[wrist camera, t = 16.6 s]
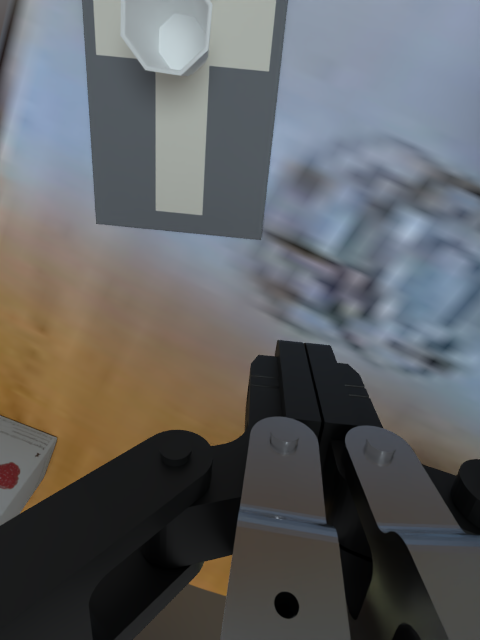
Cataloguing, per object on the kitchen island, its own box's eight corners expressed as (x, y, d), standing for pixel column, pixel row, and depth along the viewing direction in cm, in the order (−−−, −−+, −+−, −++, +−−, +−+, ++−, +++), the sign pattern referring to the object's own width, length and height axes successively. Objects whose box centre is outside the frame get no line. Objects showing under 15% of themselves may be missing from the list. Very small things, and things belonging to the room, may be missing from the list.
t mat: (260, 239, 42) (261, 240, 42) (97, 223, 42) (96, 223, 42) (293, -47, 32) (293, -48, 32) (78, -68, 32) (77, -69, 32)
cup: (134, 63, 35) (101, 41, 28) (183, -60, 32) (160, -123, 24) (200, 107, 37) (186, 97, 29) (255, -7, 33) (254, -52, 26)
